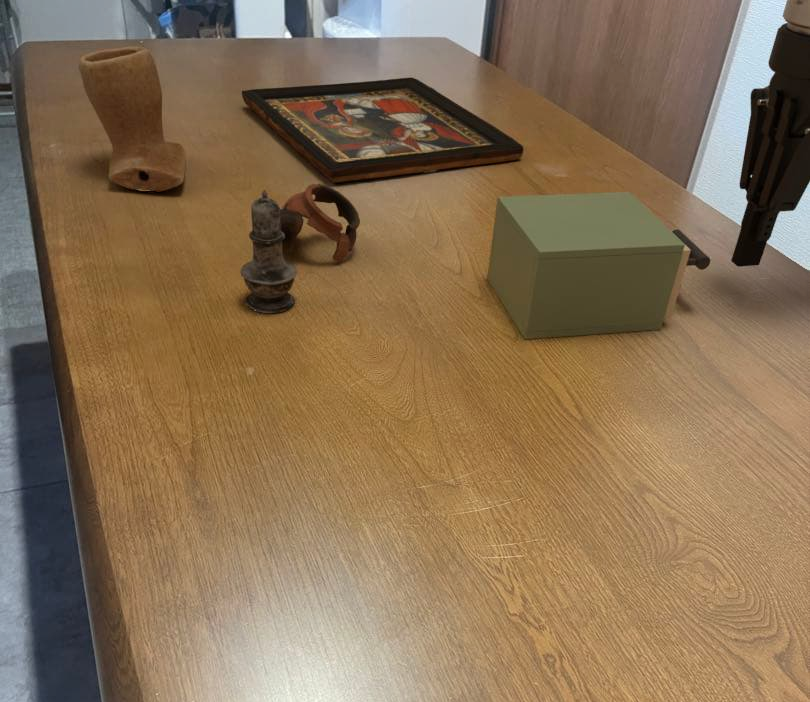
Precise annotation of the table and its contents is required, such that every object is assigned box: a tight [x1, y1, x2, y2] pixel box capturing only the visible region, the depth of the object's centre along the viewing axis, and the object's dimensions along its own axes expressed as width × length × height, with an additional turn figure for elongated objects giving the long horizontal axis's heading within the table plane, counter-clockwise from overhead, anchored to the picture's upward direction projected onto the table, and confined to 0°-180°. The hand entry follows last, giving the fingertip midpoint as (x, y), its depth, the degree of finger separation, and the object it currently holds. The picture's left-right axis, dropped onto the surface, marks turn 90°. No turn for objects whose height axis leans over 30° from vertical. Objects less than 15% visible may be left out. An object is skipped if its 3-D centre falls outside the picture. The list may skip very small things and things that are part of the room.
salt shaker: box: [239, 189, 298, 314], centre depth 90 cm, size 6×6×12 cm
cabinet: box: [486, 191, 685, 340], centre depth 94 cm, size 16×14×10 cm
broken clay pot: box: [280, 183, 361, 263], centre depth 101 cm, size 12×10×8 cm
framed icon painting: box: [241, 77, 524, 183], centre depth 133 cm, size 38×35×3 cm
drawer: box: [644, 205, 711, 320], centre depth 95 cm, size 19×12×8 cm, turn 103°
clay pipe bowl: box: [78, 46, 187, 192], centre depth 112 cm, size 15×12×15 cm
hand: (745, 262), depth 99 cm, fingers closed
